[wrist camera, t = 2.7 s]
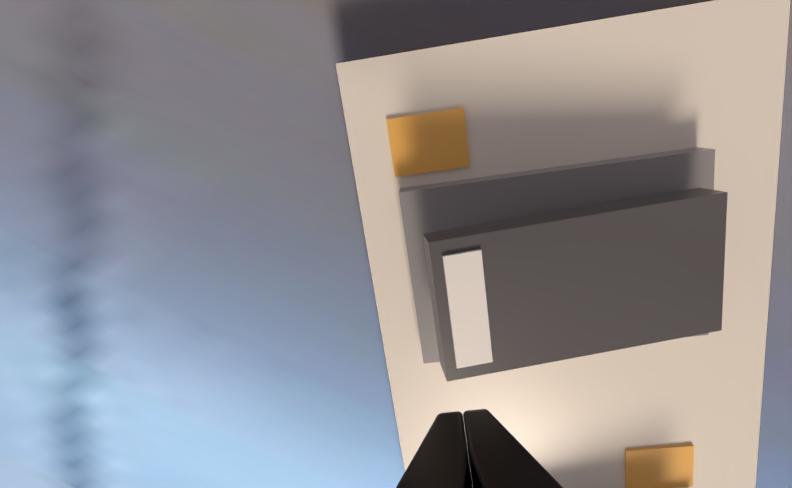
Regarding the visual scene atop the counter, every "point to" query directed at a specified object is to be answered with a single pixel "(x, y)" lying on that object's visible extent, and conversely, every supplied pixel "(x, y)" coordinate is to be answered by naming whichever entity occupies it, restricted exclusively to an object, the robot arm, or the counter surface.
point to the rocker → (577, 281)
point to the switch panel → (572, 188)
